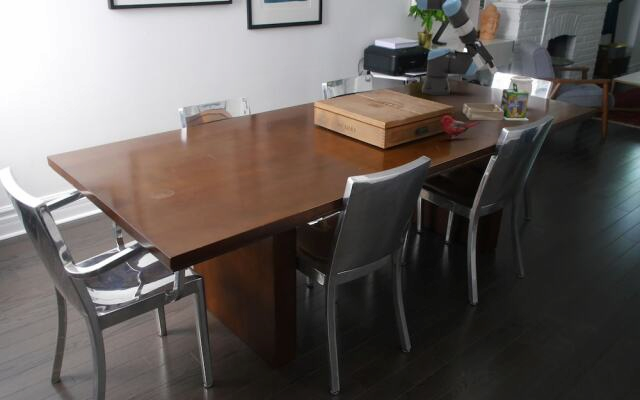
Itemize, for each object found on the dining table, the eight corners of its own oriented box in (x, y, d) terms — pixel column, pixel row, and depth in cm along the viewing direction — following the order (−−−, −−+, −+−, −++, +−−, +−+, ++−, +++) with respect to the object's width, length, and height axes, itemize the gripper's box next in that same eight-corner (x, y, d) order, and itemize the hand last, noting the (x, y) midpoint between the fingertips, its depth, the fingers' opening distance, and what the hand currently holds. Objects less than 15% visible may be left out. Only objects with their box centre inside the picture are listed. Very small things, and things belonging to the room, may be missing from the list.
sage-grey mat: (497, 112, 250) (497, 111, 250) (518, 112, 250) (518, 111, 250) (506, 120, 238) (506, 119, 237) (528, 120, 237) (528, 119, 237)
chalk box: (525, 118, 240) (531, 85, 234) (505, 117, 240) (510, 85, 234) (518, 113, 248) (523, 81, 242) (499, 112, 248) (503, 81, 242)
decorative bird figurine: (436, 139, 210) (438, 114, 206) (475, 136, 215) (478, 112, 211) (439, 141, 208) (442, 116, 204) (479, 138, 212) (482, 113, 208)
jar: (504, 109, 255) (509, 78, 249) (506, 105, 264) (511, 75, 258) (528, 112, 252) (533, 80, 246) (528, 107, 260) (534, 76, 254)
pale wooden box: (462, 111, 251) (463, 103, 249) (493, 112, 251) (494, 103, 249) (469, 119, 238) (471, 111, 236) (502, 120, 237) (504, 111, 236)
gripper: (447, 33, 239) (469, 69, 249) (471, 40, 217) (494, 80, 226) (461, 22, 238) (482, 59, 248) (486, 29, 216) (508, 69, 225)
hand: (488, 70), depth 237 cm, fingers open, 13 cm apart
